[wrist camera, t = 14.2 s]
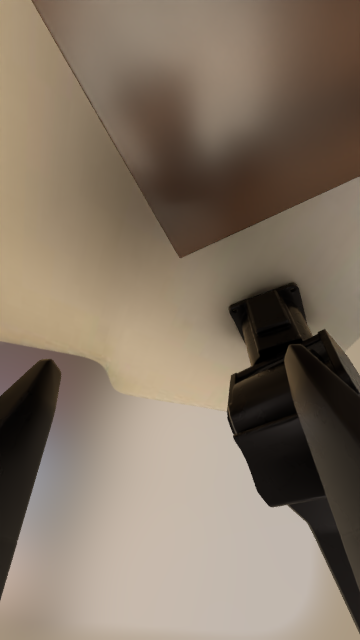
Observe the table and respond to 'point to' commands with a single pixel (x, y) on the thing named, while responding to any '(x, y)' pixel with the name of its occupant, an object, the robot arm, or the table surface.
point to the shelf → (220, 102)
